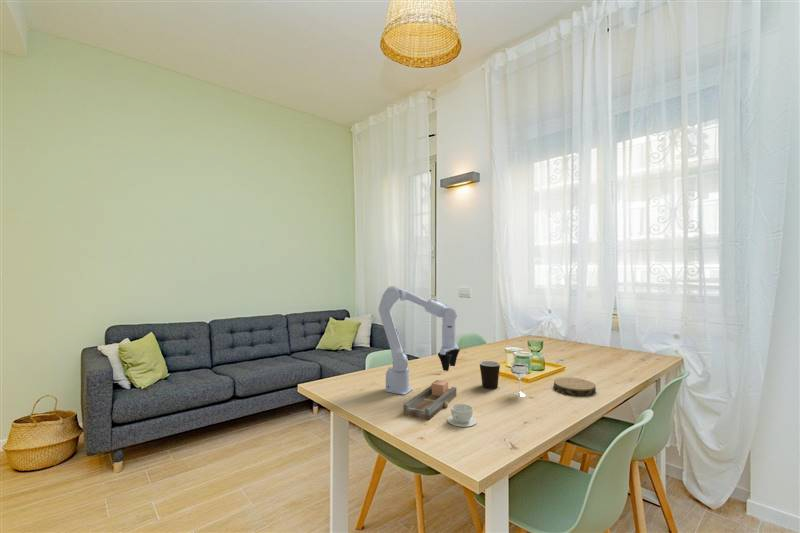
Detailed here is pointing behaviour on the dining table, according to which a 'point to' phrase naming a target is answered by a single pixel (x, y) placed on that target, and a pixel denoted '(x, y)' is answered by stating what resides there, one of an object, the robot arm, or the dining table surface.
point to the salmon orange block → (439, 387)
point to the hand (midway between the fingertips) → (449, 368)
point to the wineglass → (519, 374)
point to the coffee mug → (489, 374)
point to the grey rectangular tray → (428, 403)
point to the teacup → (461, 415)
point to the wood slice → (574, 386)
